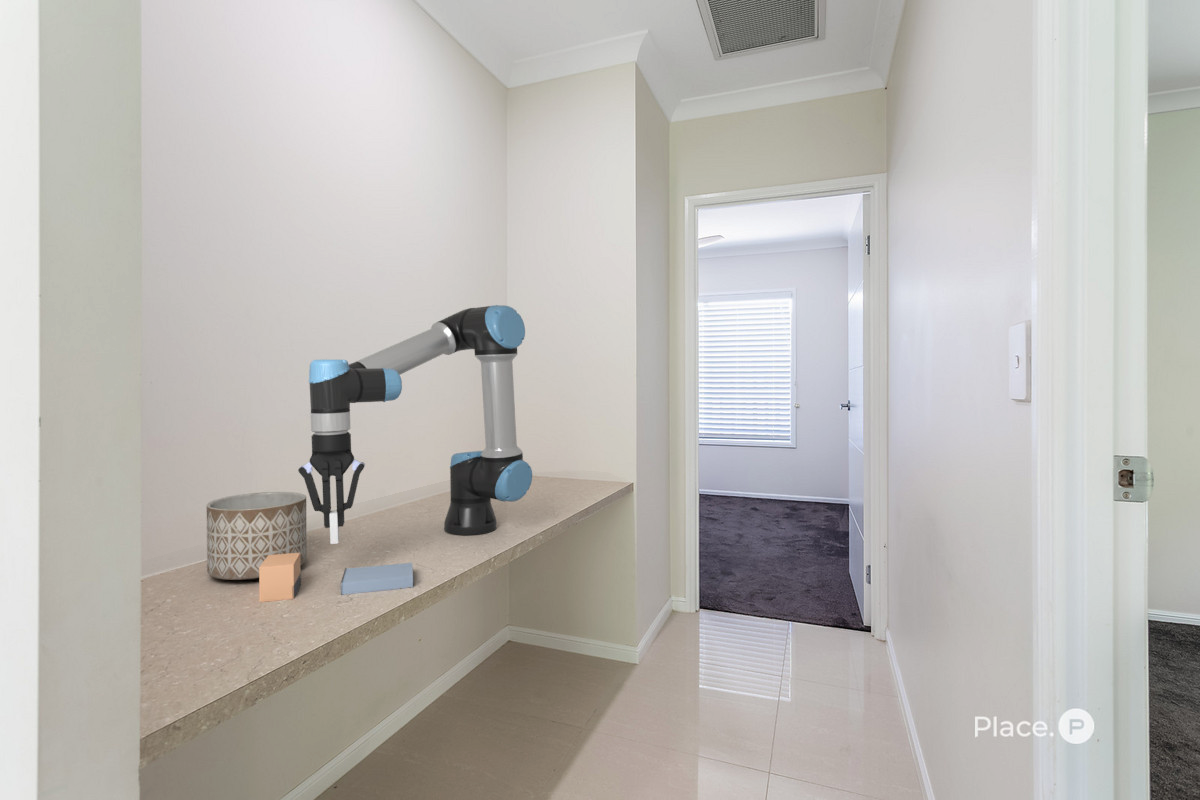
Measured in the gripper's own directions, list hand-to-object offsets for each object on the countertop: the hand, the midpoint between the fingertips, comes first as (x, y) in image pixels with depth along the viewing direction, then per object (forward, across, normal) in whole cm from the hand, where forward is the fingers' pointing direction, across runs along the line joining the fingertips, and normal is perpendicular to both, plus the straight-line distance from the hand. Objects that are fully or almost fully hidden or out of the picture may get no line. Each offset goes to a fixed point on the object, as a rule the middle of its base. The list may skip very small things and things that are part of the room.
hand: (335, 541), depth 121 cm
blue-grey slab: (+10, -8, +2) cm, 13 cm away
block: (+9, +10, +2) cm, 14 cm away
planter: (+9, +17, -14) cm, 24 cm away
